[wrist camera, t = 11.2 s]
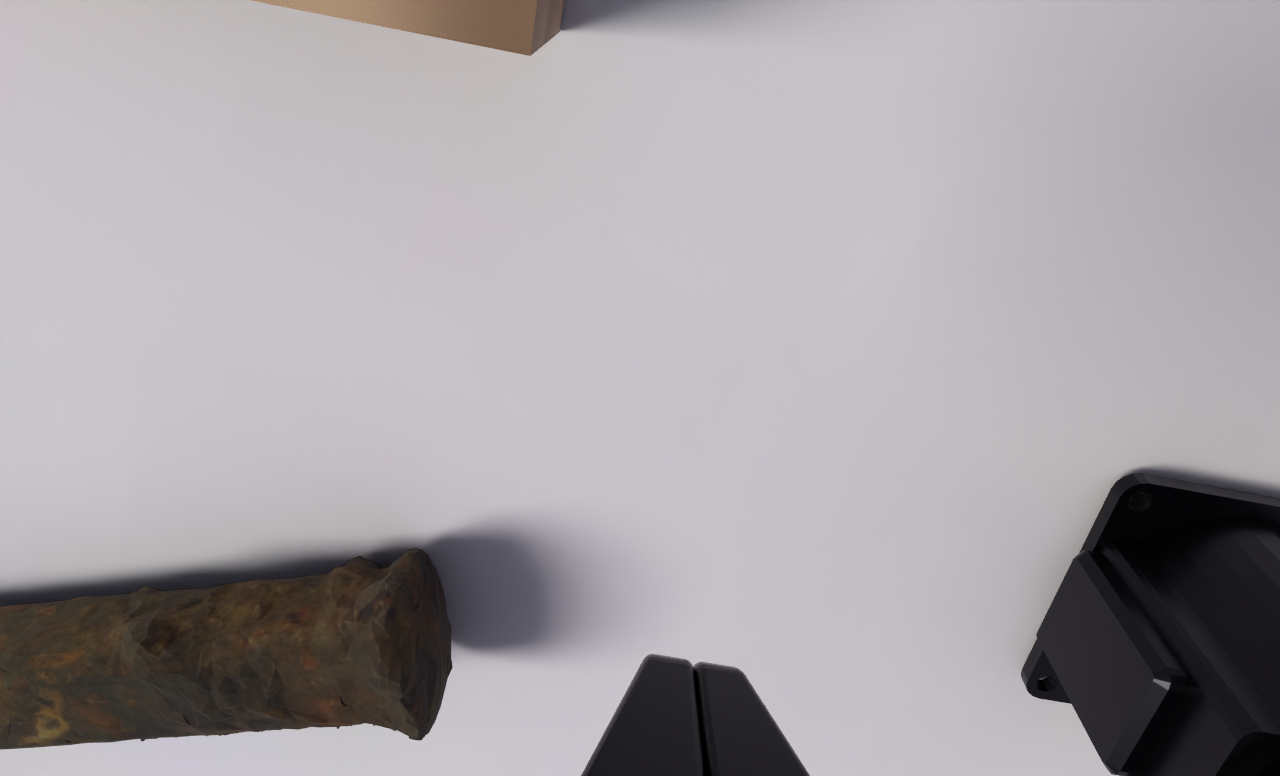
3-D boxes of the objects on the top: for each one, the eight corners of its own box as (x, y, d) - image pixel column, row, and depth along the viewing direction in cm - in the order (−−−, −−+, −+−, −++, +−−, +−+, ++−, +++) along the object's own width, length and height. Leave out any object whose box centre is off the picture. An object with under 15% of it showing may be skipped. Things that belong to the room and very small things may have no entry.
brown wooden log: (442, 519, 22) (388, 652, 18) (469, 646, 24) (426, 794, 20) (-282, 556, 23) (-490, 689, 19) (-206, 675, 25) (-382, 820, 21)
